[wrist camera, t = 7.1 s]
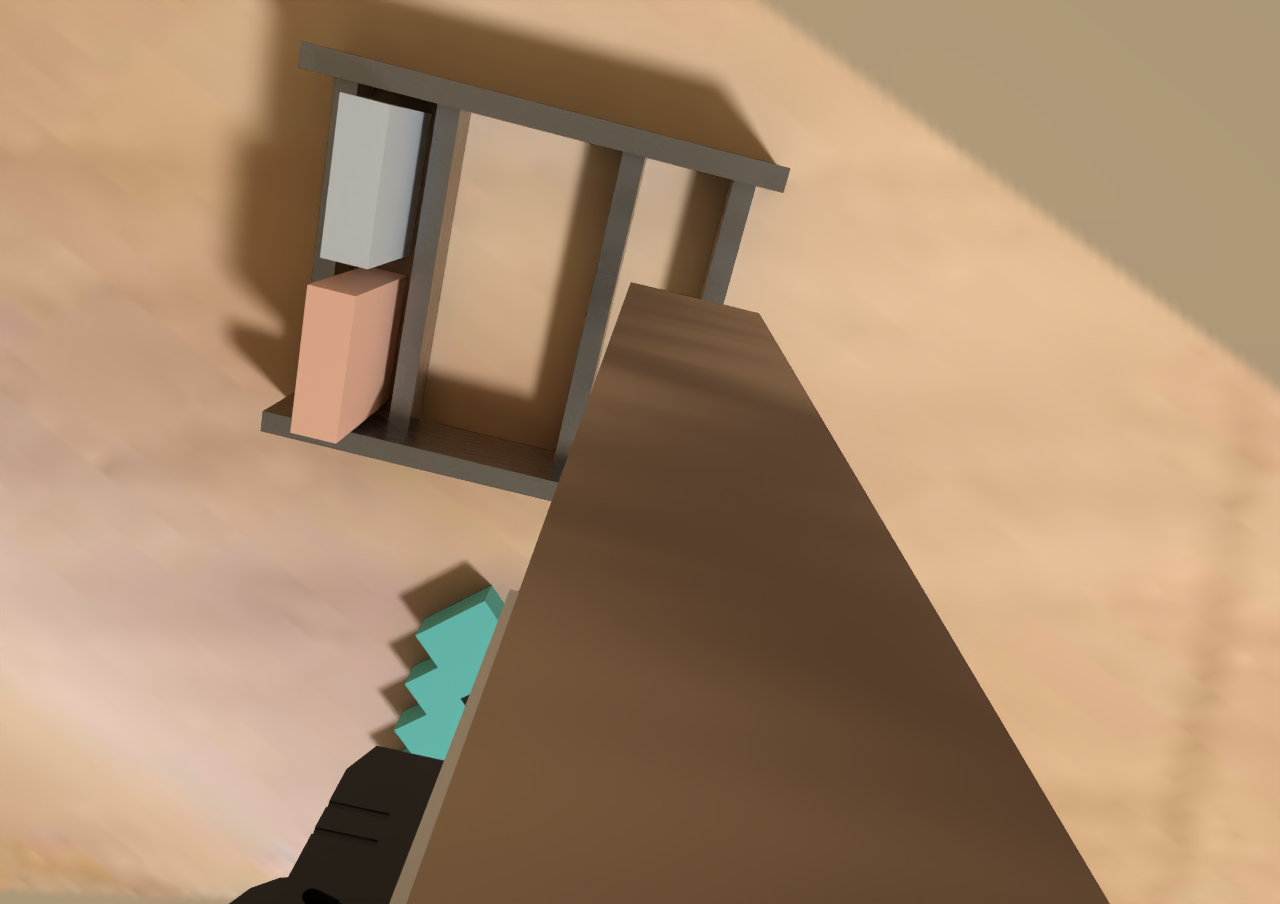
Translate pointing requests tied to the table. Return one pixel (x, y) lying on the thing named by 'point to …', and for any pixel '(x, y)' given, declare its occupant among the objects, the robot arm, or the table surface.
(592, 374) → the floor rack
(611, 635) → the walnut sheet
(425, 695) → the alien figure
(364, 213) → the slate offcut
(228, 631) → the table surface
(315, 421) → the terracotta offcut
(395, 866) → the robot arm
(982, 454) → the table surface
